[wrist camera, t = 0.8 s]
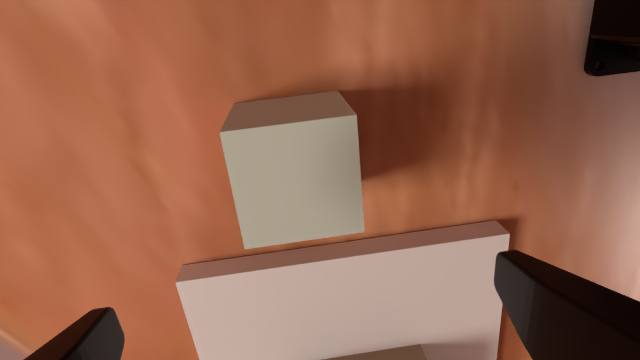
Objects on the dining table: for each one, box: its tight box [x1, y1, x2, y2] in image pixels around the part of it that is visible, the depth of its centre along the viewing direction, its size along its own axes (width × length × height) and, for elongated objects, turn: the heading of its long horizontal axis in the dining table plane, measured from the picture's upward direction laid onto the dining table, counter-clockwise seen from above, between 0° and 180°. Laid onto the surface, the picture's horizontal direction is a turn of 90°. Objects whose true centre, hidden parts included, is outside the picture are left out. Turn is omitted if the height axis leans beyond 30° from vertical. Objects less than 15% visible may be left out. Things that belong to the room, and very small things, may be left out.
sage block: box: [220, 91, 365, 249], centre depth 17 cm, size 5×5×5 cm
